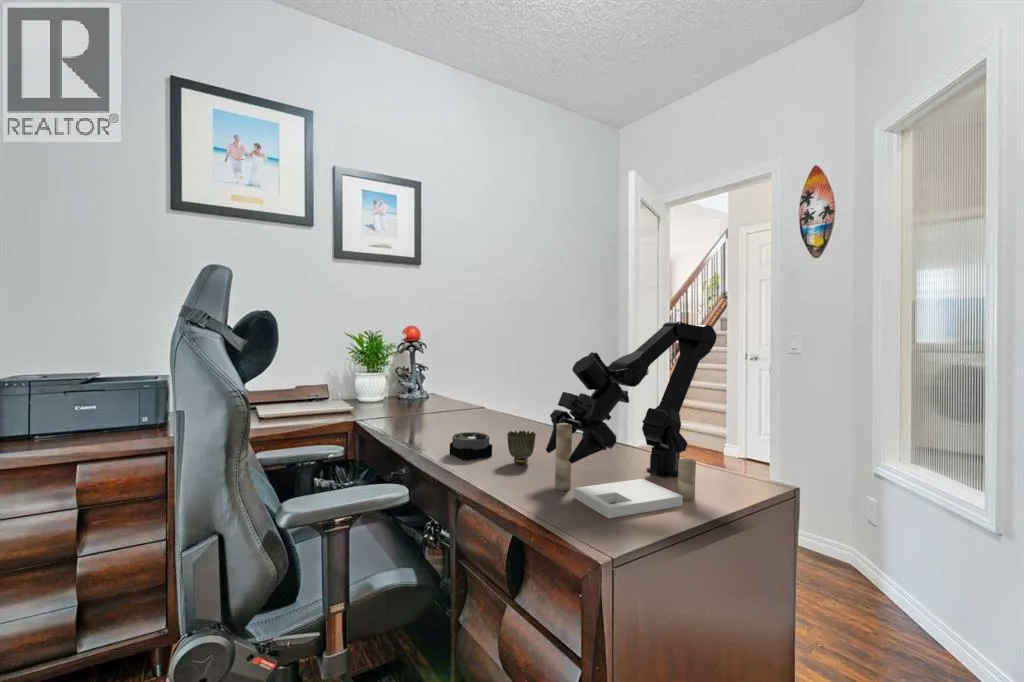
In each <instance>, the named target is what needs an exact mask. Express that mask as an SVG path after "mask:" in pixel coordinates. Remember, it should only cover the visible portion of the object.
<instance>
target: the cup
mask: <svg viewBox="0 0 1024 682" xmlns="http://www.w3.org/2000/svg"><path fill="white" fill-rule="evenodd" d="M536 435H537V434H536V432H534V431H531V432H530V431H529V430H527V432H526V431H525V430H523V431H522V430H521V429H520V430H519V431H517V430H514V431H512V430H510V431H509V432H507V447H508V452H509V454H510V455H511V456H512V458H513V462H514V464H515V465H519V466H521V465H522V466H523V465H527V464H528V462H529V459H528V458H530V457H531V456H532V455H533V453H534V449H535V443H536Z"/></svg>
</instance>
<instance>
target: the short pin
mask: <svg viewBox="0 0 1024 682" xmlns="http://www.w3.org/2000/svg"><path fill="white" fill-rule="evenodd" d="M696 467H697V461H696V460H694V459H692V458H679V465H678V476H677V494H679V495H682V496H683V498H682V502H694V501H695V500H696V498H695V497H696V469H697V468H696Z"/></svg>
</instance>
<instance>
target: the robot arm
mask: <svg viewBox="0 0 1024 682" xmlns="http://www.w3.org/2000/svg"><path fill="white" fill-rule="evenodd" d="M717 336H718V335H717V332H716V331H715V329H714V327H713V326H712V325H708V324H695V325H694V324H689V323H684V322H682V321H667V322H665V323H664V324H662V326H661V328H660V329H659V330H657V331H656V332H655V333H654V334H653V335H651V337H649V338H648V339H647V340H646V341H644V343H642V344H641V345H639V347H637V348H636V349H635V350H634V351H632V352H631V353H628V354H625V355H623V356H620V357H618V358H617V359H615V360H614V361H612V362H611V363H610V364H608V365H606V364H605V363H604V361H603V360H602V359H601V356H600V355H599V354H598V353H597V352H590V353H589V354H588V355H586V356H584V357H582V358H580V359H579V360H577V361H576V362H575V363H574V365H572V370H571V371H572V372H573V373H574V375H575V376H576V377H577V378H578V379H579V381H580V382H581V383H582V384H583V386H584V387H585V388H586V389H587V390H590V391H593V390H594V391H593V392H592V394H590V395H588V394H586V393H583V392H581V393H579V395H577V394H573V393H570V392H567V391H566V392H565V391H562V393H561V395H560V397H559V399H558V403H557V406H559V407H562V408H565V409H568V410H569V412H568V411H565V410H563V409H554V410H553V411H552V412H551V414H550V415H549V417H550V418H551V419H550V422H551V423H552V426H553V427H552V432H551V435H550V438H549V441H548V443H547V446H546V449H545V452H547V453H548V454H551V453H553V452H554V451H556V430H557V424H559V423H567V424H572V435H573V434H575V433H576V432H577V431H580V432H582V438H581V440H580V441H579V443H578V445H577V446H576V447H575V449H574V450H573V452H572V453H571V456H570V458H569V462H570V463H571V464H575V463H577V462H579V461H580V460H583V459H585V458H587V457H589V456H591V455H593V454H596V453H598V452H601V451H606V450H607V448H608V449H610V450H612V449H613V447H615V445H616V443H617V435H616V434H615V432H614V431H613V430H612V429H611V428H610V427H609V426H608V424H607V423H606V422H605V420H606V421H610V419H612V416H611V415H610V413H611V412H612V411H613V410H614V408H615V407H616V406H617V404H619V402H620V403H626V404H629V403H630V397H629V391H628V390H624V389H623V388H622V387H621V386H624V387H632V388H634V387H637V386H638V385H640V383H642V381H643V380H644V378H645V377H646V375H648V372H649V371H648V370H649V367H650V366H651V365H652V364H653V363H654V362H655V361H656V360H657V359H658V358H660V357H661V356H662V355H663V354H664V353H665V352H666V351H667V350H668V349H670V347H672V346H673V345H674V344H675V343H676V342H677V341H678V343H677V345H678V350H679V356H678V359H677V361H676V363H675V366H674V368H673V371H672V372H671V375H670V378H669V380H668V383H667V385H666V388H665V390H664V393H663V394H662V395H663V396H662V398H661V400H660V402H659V404H658V405H657V406H656V407H655V408H652V407H649V408H648V409H647V410H646V414H645V416H644V418H643V420H642V422H641V423H642V428H641V431H642V433H643V436H644V439H645V443H646V445H647V446H651V453H650V457H649V467H647V468H646V471H647V472H650V473H651V474H652V473H653V474H655V475H658V476H660V477H662V478H669V477H678V465H679V459H680V453H681V454H682V452H686V450H687V446H688V441H687V440H686V439H685V437H684V436H683V435H682V434H681V431H680V430H681V428H682V422H681V415H680V412H681V408H682V407H683V403H684V401H685V398H686V396H687V394H688V391H689V388H690V386H691V383H692V381H693V379H694V376H695V373H696V370H697V368H698V366H699V363H700V361H701V360H702V359H704V358H705V357H706V356H707V355H709V353H710V352H711V351H712V349H713V347H714V345H715V343H716V341H717Z"/></svg>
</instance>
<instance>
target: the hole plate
mask: <svg viewBox="0 0 1024 682" xmlns="http://www.w3.org/2000/svg"><path fill="white" fill-rule="evenodd" d="M682 498H683V496H682V495H679V494H678V492H674V491H672V490H670V489H668V488H665V487H663V486H661V485H658V484H656V483H654V482H652V481H649V480H646V479H644V478H638V479H631V480H623V481H616V482H608V483H602V484H601V483H600V484H594V485H587V486H580V487H573V499H575V500H577V501H579V502H580V503H582V504H584V505H585V506H587V507H589V508H590V509H592V510H594V511H595V512H597V513H599V514H601V515H602V516H603V517H605V518H607V519H613V518H619V517H625V516H630V515H636V514H642V513H647V512H648V513H649V512H655V511H659V510H660V511H661V510H667V509H672V508H679V507H683V500H682Z"/></svg>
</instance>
